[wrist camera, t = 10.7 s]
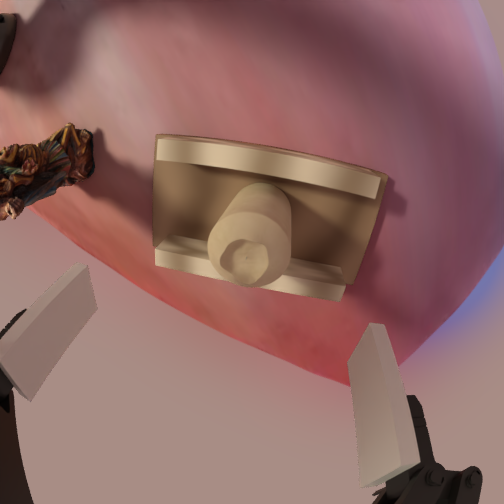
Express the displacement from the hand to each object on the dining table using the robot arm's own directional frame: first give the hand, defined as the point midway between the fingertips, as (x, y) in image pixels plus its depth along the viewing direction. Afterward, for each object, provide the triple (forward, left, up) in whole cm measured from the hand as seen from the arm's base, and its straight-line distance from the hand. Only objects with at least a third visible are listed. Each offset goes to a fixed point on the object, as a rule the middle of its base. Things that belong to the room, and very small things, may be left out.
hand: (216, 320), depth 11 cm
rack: (0, 0, -17) cm, 17 cm away
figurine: (-23, +4, -17) cm, 29 cm away
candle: (0, 0, -16) cm, 16 cm away
